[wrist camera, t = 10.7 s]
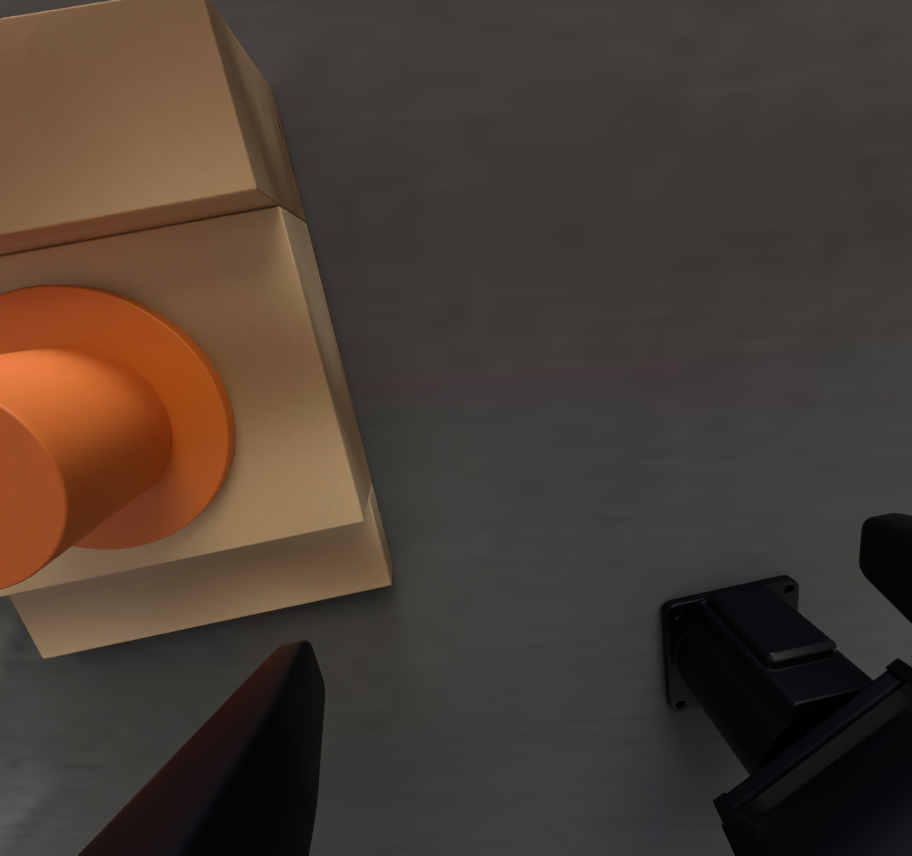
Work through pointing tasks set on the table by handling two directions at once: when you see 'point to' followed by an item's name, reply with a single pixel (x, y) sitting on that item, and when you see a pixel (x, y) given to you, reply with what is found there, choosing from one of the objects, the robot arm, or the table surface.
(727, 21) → the table surface
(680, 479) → the table surface
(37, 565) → the hat
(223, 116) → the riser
